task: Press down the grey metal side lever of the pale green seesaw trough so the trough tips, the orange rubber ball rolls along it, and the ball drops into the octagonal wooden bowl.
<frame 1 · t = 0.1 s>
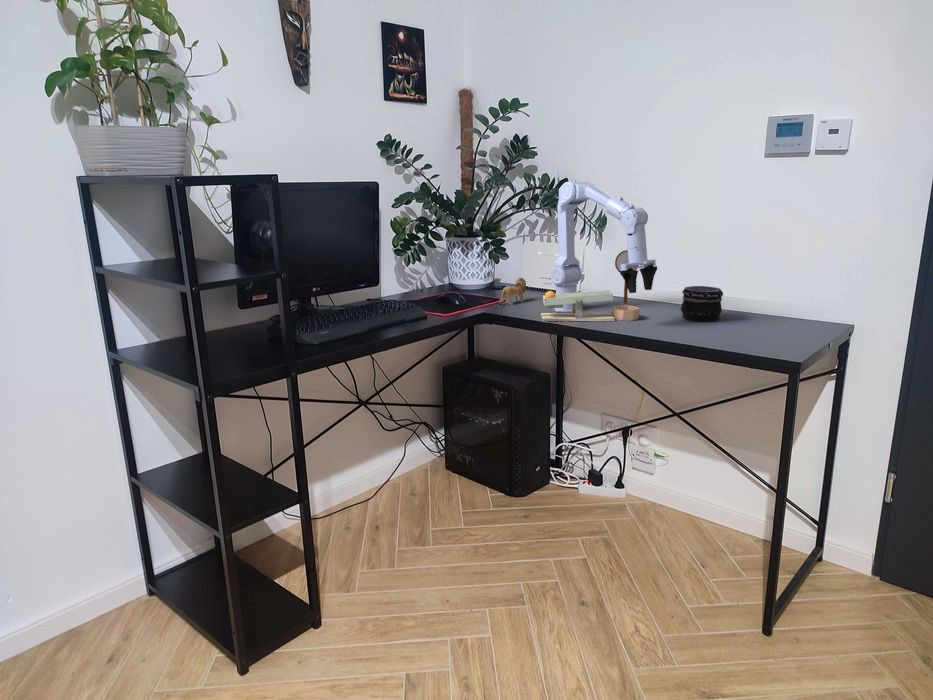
hand: (640, 291, 207), 11 cm above the table, tool pointing down, fingers open, 7 cm apart
octagonal wooden bowl: (625, 318, 219), on the table
magnifying glass: (625, 306, 238), on the table
container: (700, 319, 217), on the table
ball: (550, 296, 218), point 8 cm above the table, tilted 15°, touching trough
stand: (577, 318, 219), on the table
trough: (577, 297, 220), point 6 cm above the table, hinge at 4.0°, touching ball
lion figurine: (512, 303, 247), on the table
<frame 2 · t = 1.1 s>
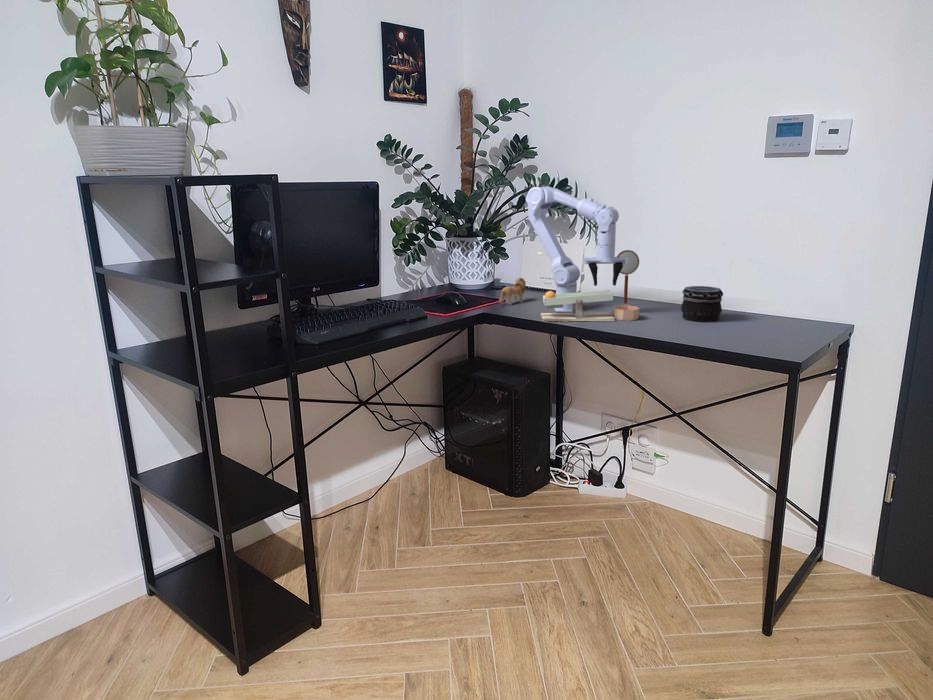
hand: (604, 285, 223), 10 cm above the table, tool pointing down, fingers open, 6 cm apart
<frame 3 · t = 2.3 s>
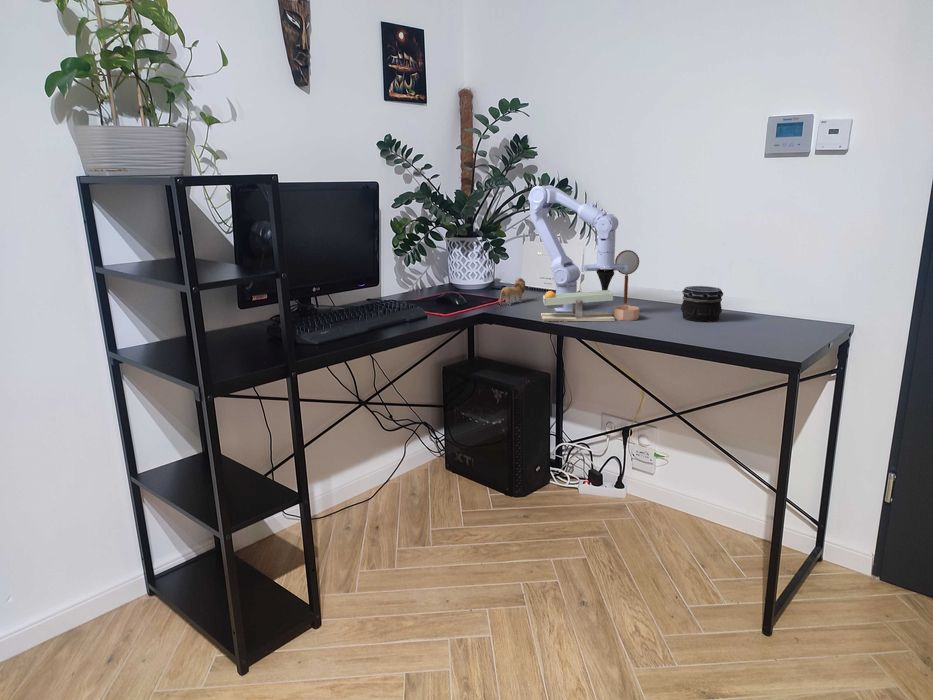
hand: (604, 292, 224), 8 cm above the table, tool pointing down, fingers closed, pressing on trough
trough: (577, 297, 220), point 6 cm above the table, hinge at 3.8°, touching ball, gripper
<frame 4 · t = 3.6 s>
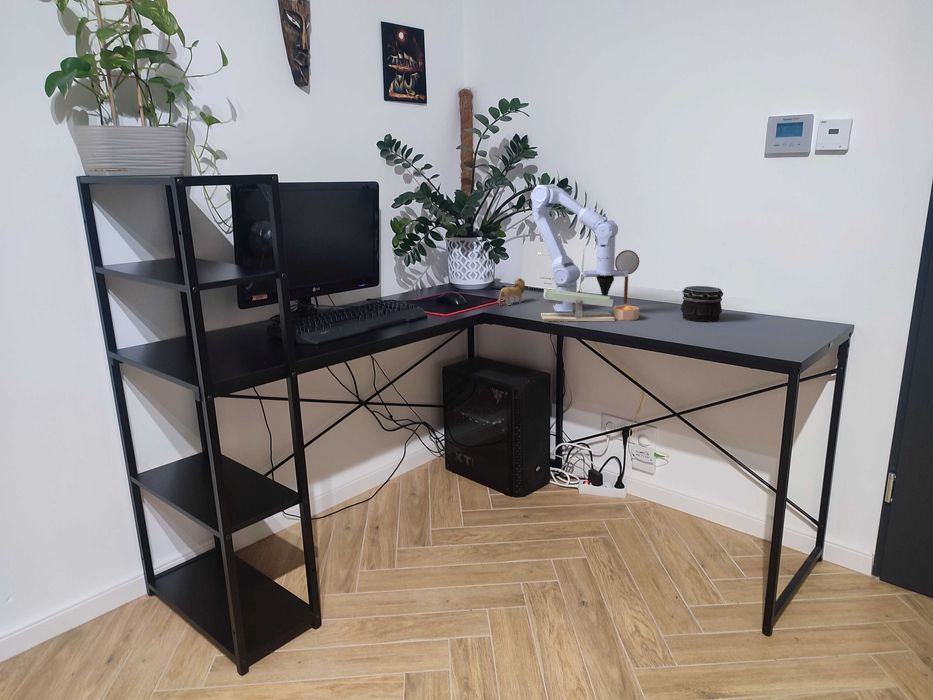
hand: (604, 298, 224), 6 cm above the table, tool pointing down, fingers closed, pressing on trough
ball: (628, 311, 218), point 2 cm above the table, tilted 175°, touching octagonal wooden bowl
trough: (577, 298, 221), point 6 cm above the table, hinge at -7.5°, touching gripper
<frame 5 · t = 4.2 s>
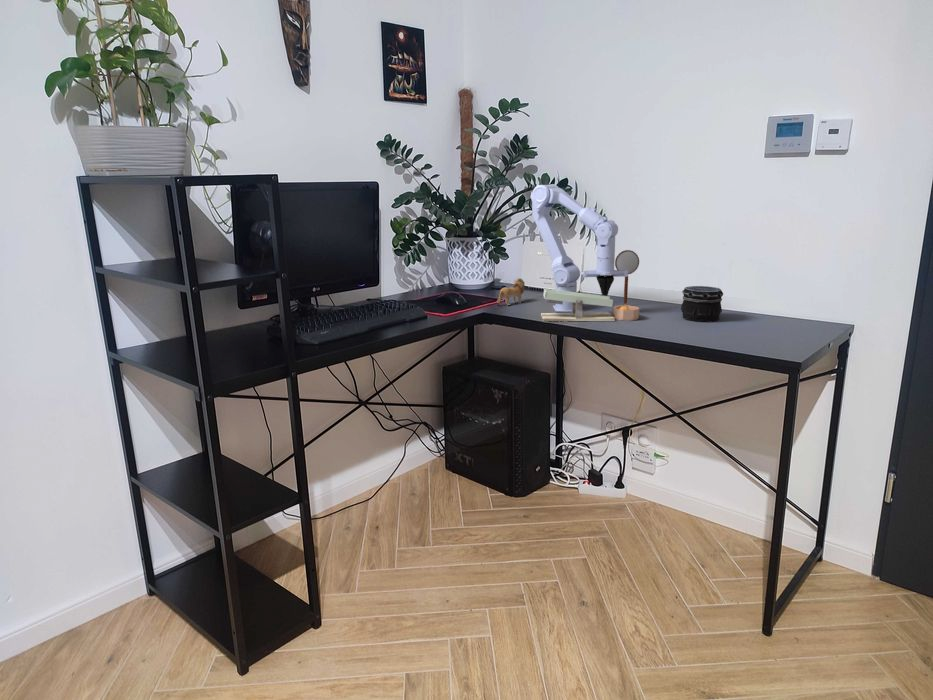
hand: (604, 298, 224), 6 cm above the table, tool pointing down, fingers closed, pressing on trough
ball: (624, 311, 218), point 2 cm above the table, tilted 134°, touching octagonal wooden bowl
trough: (577, 298, 221), point 6 cm above the table, hinge at -7.5°, touching gripper
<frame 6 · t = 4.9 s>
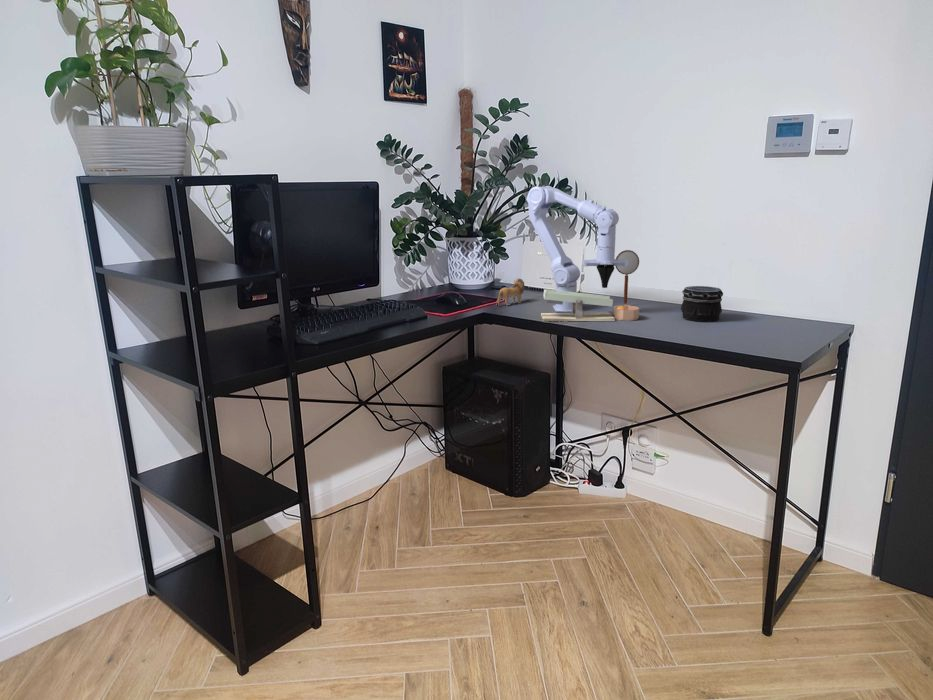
hand: (604, 287, 223), 9 cm above the table, tool pointing down, fingers closed
ball: (620, 311, 218), point 2 cm above the table, tilted 98°, touching octagonal wooden bowl
trough: (577, 298, 221), point 6 cm above the table, hinge at -6.9°
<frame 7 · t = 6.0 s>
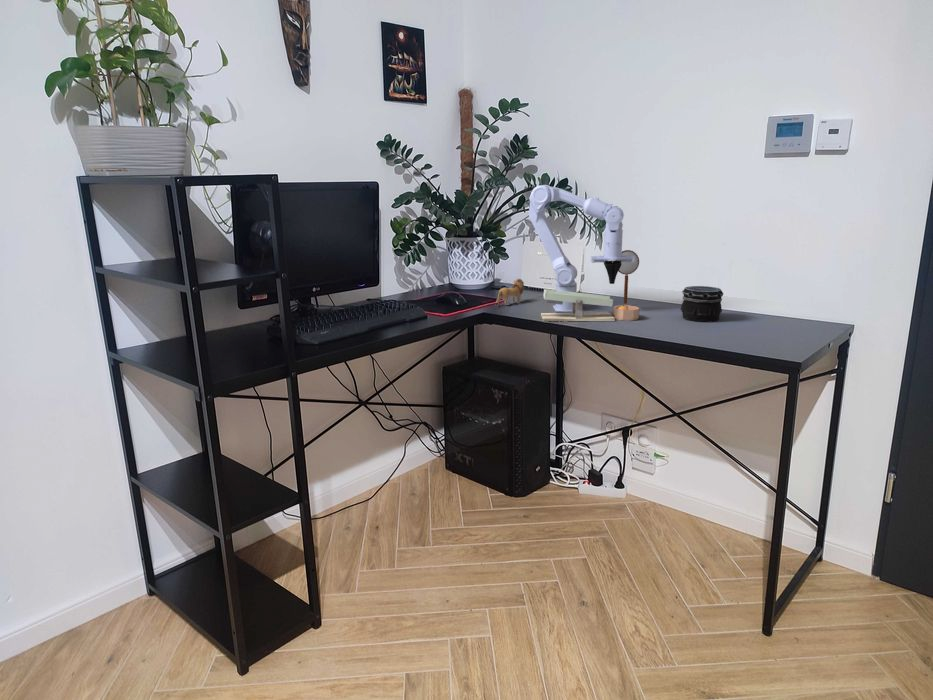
hand: (611, 283, 226), 10 cm above the table, tool pointing down, fingers closed
ball: (622, 311, 218), point 2 cm above the table, tilted 117°, touching octagonal wooden bowl
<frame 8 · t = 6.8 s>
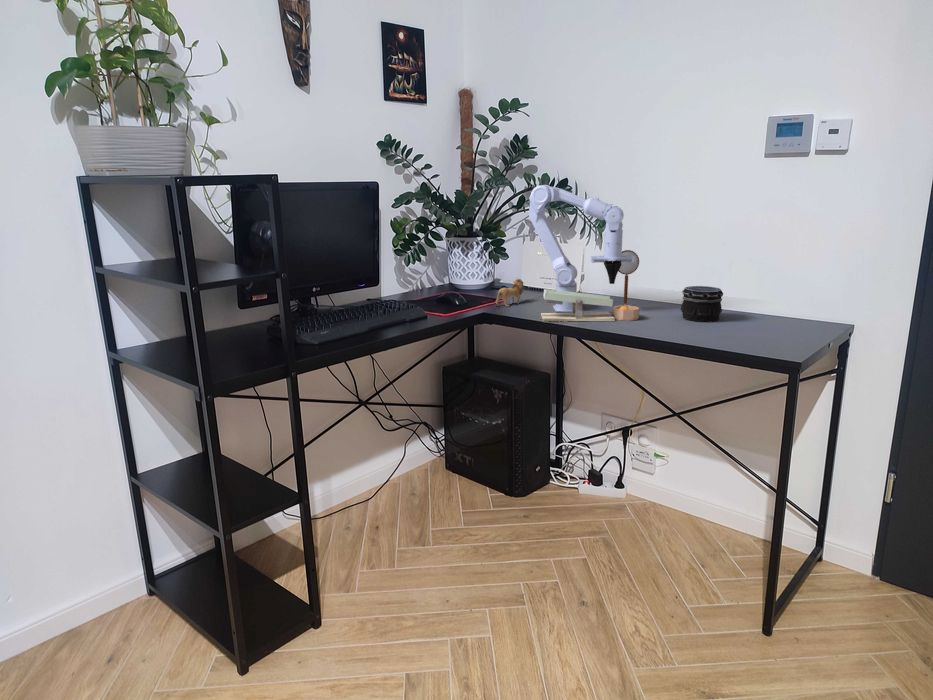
hand: (611, 283, 226), 10 cm above the table, tool pointing down, fingers closed
ball: (623, 311, 218), point 2 cm above the table, tilted 131°, touching octagonal wooden bowl
at the end: ball inside the target area on the octagonal wooden bowl (0.6 cm from its centre), point 2.2 cm above the octagonal wooden bowl's base; ball point 2.2 cm above the table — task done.
